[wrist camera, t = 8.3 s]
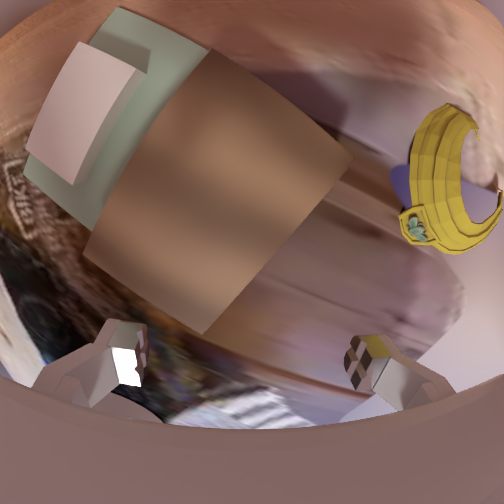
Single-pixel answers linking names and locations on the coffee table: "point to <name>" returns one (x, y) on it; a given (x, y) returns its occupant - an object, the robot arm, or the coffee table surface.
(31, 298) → the coffee table surface
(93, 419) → the robot arm
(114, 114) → the tile
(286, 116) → the wooden block
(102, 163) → the mat
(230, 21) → the coffee table surface
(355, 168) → the coffee table surface
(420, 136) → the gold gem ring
